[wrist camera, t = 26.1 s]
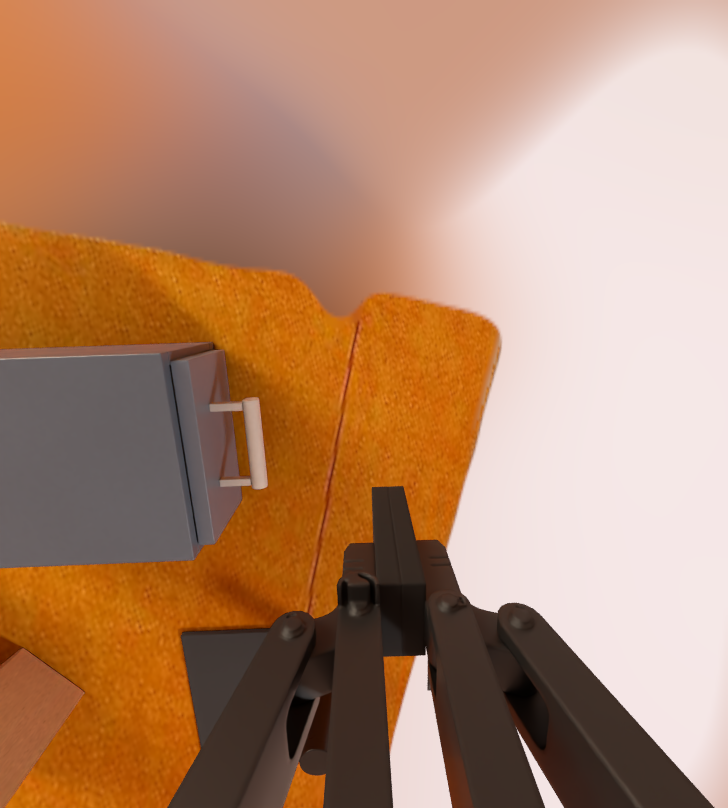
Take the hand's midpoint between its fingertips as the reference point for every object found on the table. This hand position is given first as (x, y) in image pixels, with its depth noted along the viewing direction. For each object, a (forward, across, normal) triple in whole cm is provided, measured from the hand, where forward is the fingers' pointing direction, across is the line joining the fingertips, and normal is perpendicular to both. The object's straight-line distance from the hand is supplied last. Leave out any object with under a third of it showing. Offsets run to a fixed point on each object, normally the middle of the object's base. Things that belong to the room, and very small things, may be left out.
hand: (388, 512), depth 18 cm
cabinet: (+16, -24, 0) cm, 28 cm away
